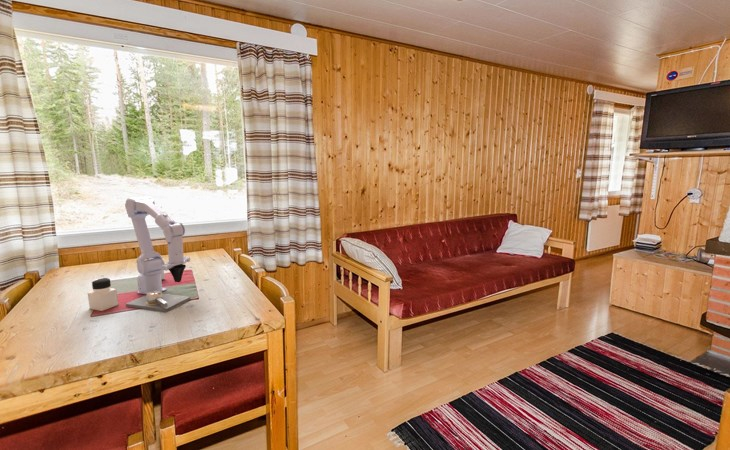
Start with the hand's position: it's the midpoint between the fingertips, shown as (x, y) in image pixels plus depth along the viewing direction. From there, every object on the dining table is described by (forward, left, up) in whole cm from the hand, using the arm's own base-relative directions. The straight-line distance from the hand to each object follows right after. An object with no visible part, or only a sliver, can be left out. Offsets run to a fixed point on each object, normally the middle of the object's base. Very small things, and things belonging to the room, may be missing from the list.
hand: (177, 281), depth 155 cm
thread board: (-5, -6, -8) cm, 11 cm away
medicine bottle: (-23, -16, -9) cm, 29 cm away
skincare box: (-30, +18, -9) cm, 37 cm away
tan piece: (-1, -9, -7) cm, 12 cm away
